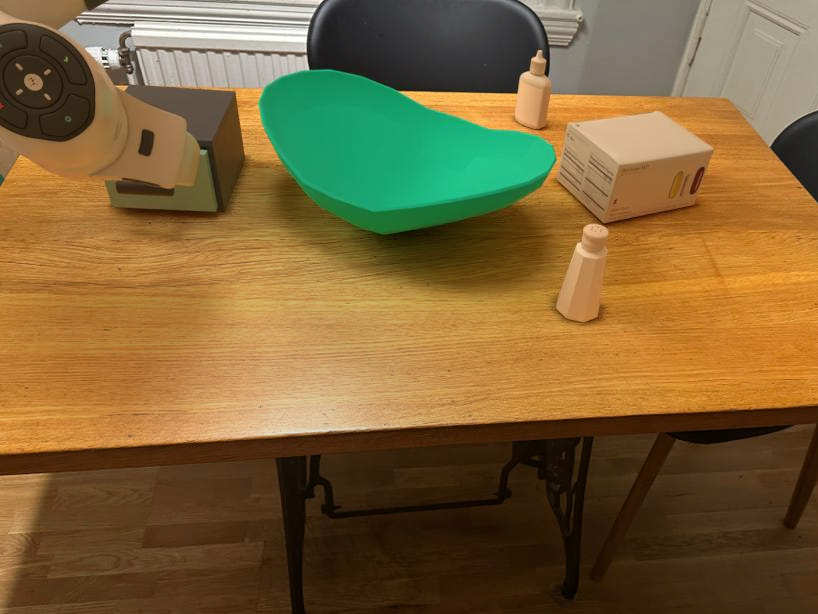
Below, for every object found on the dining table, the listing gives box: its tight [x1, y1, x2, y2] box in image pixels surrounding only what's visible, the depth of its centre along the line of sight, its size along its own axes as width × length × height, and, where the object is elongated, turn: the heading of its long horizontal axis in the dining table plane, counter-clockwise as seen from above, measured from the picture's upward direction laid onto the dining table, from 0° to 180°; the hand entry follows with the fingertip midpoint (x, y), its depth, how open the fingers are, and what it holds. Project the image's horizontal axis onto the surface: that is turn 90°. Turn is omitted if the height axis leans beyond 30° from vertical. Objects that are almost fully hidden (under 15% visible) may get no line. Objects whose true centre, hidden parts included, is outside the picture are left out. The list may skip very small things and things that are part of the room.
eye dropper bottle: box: [514, 49, 552, 130], centre depth 115 cm, size 4×6×12 cm
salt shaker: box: [555, 223, 610, 323], centre depth 79 cm, size 5×5×11 cm
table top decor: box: [257, 68, 558, 236], centre depth 90 cm, size 40×28×13 cm
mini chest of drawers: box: [123, 83, 246, 212], centre depth 92 cm, size 15×14×10 cm
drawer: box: [103, 147, 218, 213], centre depth 89 cm, size 18×13×8 cm
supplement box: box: [555, 110, 715, 224], centre depth 101 cm, size 17×13×9 cm
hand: (92, 147), depth 71 cm, fingers open, 8 cm apart
